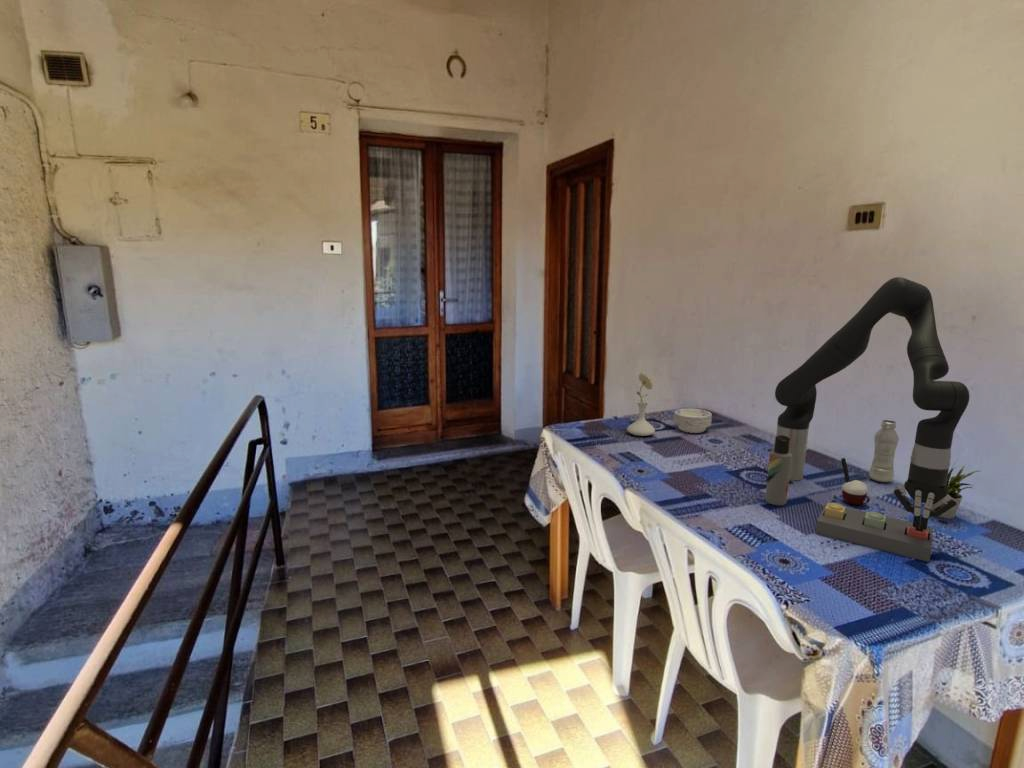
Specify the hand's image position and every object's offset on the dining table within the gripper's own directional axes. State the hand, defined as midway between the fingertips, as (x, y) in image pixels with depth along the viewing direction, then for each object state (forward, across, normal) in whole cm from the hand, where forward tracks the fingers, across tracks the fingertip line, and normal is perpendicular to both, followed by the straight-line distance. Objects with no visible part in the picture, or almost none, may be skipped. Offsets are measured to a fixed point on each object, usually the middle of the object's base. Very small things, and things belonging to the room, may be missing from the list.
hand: (918, 529), depth 139 cm
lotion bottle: (+5, +34, -8) cm, 35 cm away
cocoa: (+5, +16, -22) cm, 28 cm away
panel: (+5, +9, 0) cm, 10 cm away
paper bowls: (+5, +80, -66) cm, 104 cm away
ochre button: (+2, +18, 0) cm, 18 cm away
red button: (+4, 0, 0) cm, 4 cm away
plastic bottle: (+5, +11, -47) cm, 49 cm away
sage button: (+2, +9, 0) cm, 9 cm away
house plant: (+5, -4, -28) cm, 29 cm away
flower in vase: (+4, +95, -48) cm, 107 cm away
